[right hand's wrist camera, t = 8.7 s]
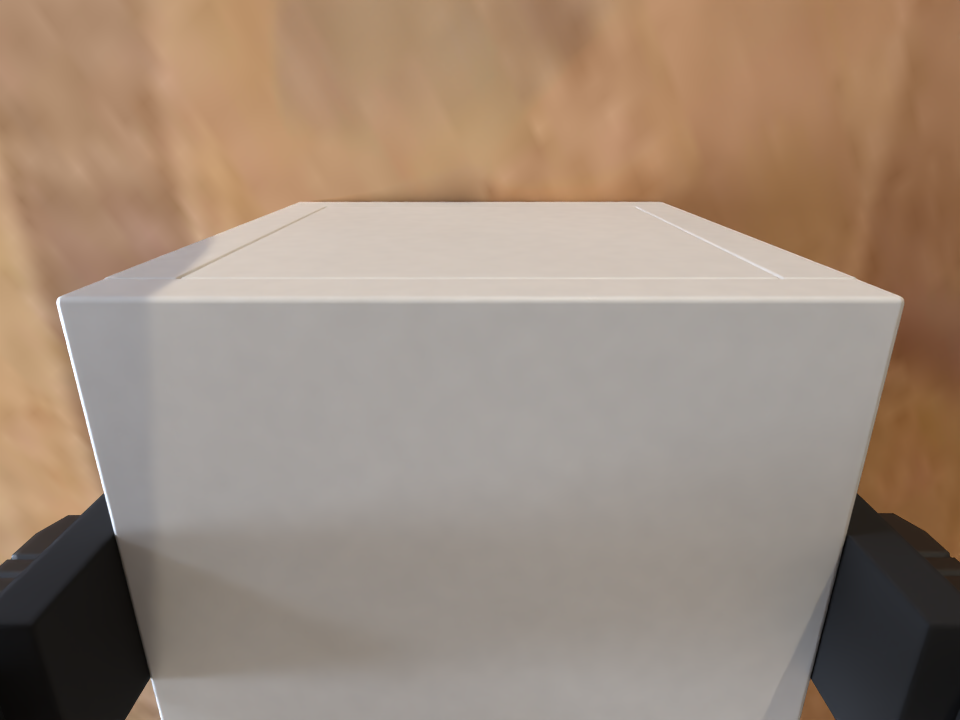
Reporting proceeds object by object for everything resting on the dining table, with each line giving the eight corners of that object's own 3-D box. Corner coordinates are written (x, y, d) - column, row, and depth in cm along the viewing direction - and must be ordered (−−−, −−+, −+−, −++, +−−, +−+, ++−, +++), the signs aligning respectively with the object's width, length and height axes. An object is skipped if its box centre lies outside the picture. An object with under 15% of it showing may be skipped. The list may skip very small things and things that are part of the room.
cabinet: (607, 747, 25) (691, 1157, 15) (354, 746, 25) (269, 1156, 15) (662, 201, 17) (909, 297, 7) (298, 202, 17) (51, 297, 7)
